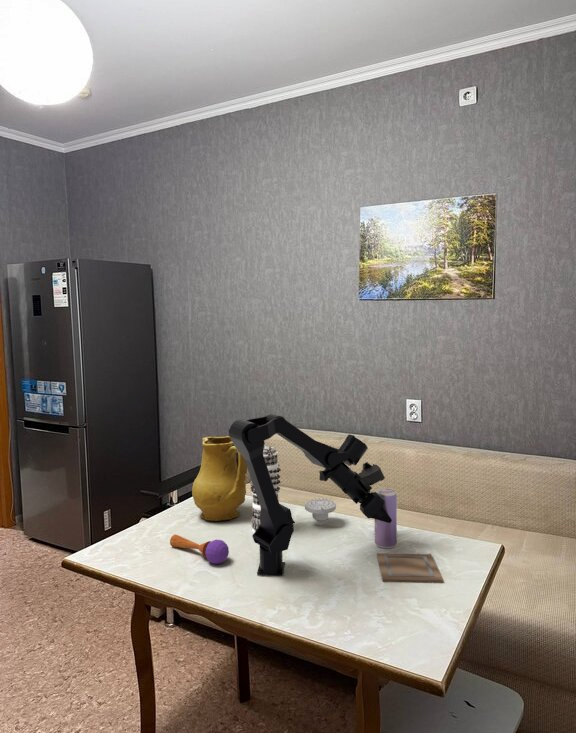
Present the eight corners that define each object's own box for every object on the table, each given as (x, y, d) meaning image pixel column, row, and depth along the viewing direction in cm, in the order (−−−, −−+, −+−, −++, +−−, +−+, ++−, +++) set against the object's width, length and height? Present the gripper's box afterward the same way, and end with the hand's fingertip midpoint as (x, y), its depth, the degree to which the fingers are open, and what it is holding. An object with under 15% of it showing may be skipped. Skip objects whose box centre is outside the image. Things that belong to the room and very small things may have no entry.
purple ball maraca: (183, 528, 151) (234, 540, 139) (182, 549, 151) (232, 563, 138) (166, 531, 147) (217, 543, 134) (165, 553, 146) (216, 568, 134)
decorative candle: (284, 524, 162) (282, 444, 160) (279, 537, 153) (277, 451, 151) (254, 523, 164) (252, 443, 161) (248, 535, 155) (245, 451, 152)
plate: (442, 582, 125) (442, 580, 125) (382, 581, 126) (382, 578, 126) (431, 556, 139) (431, 553, 139) (377, 555, 140) (377, 552, 140)
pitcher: (237, 502, 182) (235, 430, 180) (255, 521, 165) (253, 442, 163) (187, 510, 176) (184, 435, 174) (200, 531, 159) (198, 448, 156)
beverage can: (398, 549, 144) (398, 494, 143) (376, 549, 144) (376, 495, 143) (394, 539, 150) (394, 487, 149) (373, 540, 150) (373, 488, 149)
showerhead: (305, 507, 157) (303, 496, 166) (306, 531, 157) (304, 518, 167) (337, 506, 157) (333, 495, 167) (338, 530, 157) (334, 517, 167)
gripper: (376, 466, 135) (418, 505, 138) (356, 448, 153) (393, 483, 156) (346, 498, 135) (388, 537, 137) (330, 477, 153) (367, 511, 156)
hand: (385, 515), depth 146 cm, fingers open, 9 cm apart
